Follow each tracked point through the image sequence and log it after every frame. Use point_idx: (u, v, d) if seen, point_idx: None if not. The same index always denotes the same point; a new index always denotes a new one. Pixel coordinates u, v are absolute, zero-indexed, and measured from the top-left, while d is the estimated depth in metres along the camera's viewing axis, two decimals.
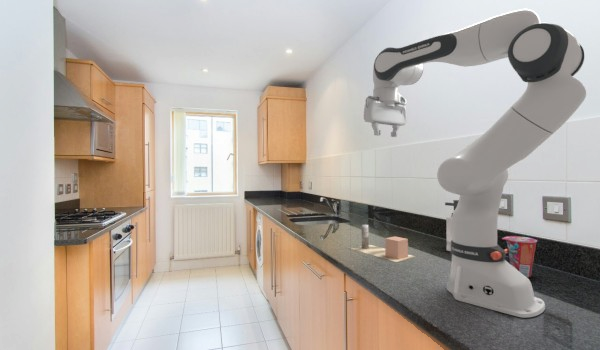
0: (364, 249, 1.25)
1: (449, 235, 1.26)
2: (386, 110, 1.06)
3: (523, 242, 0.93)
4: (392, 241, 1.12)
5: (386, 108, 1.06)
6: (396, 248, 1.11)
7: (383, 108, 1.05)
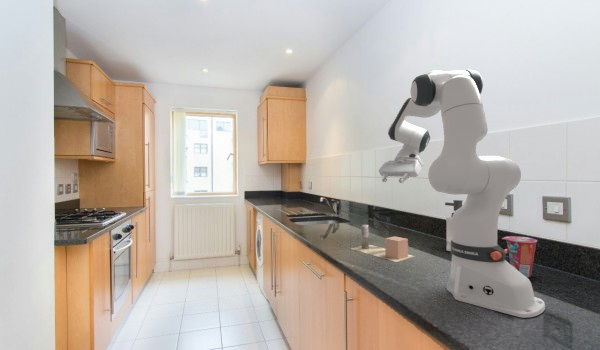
0: (364, 249, 1.25)
1: (449, 235, 1.26)
2: (396, 165, 1.38)
3: (523, 242, 0.93)
4: (392, 241, 1.12)
5: (397, 164, 1.38)
6: (396, 248, 1.11)
7: (394, 164, 1.39)
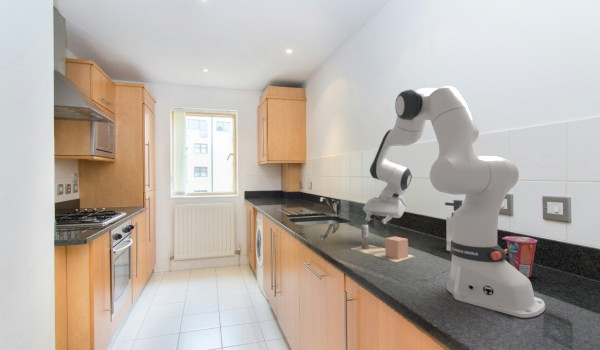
0: (364, 249, 1.25)
1: (449, 235, 1.26)
2: (380, 204, 1.36)
3: (523, 242, 0.93)
4: (392, 241, 1.12)
5: (380, 202, 1.36)
6: (396, 248, 1.11)
7: (378, 202, 1.37)
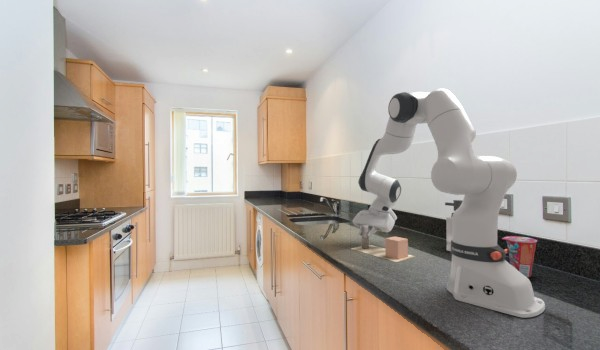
0: (364, 249, 1.25)
1: (449, 235, 1.26)
2: (369, 216, 1.32)
3: (523, 242, 0.93)
4: (392, 241, 1.12)
5: (370, 215, 1.32)
6: (396, 248, 1.11)
7: (367, 215, 1.33)
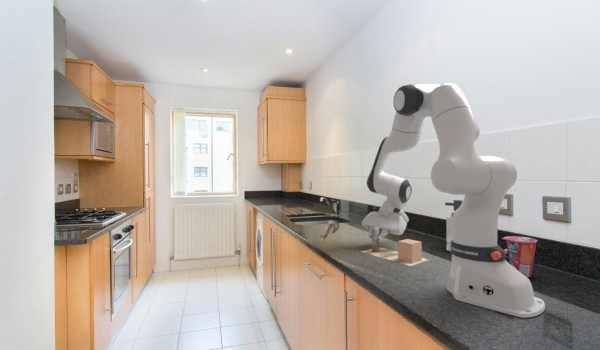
0: (375, 252, 1.20)
1: (449, 235, 1.26)
2: (380, 218, 1.27)
3: (523, 242, 0.93)
4: (405, 244, 1.07)
5: (380, 217, 1.27)
6: (410, 251, 1.06)
7: (378, 217, 1.28)
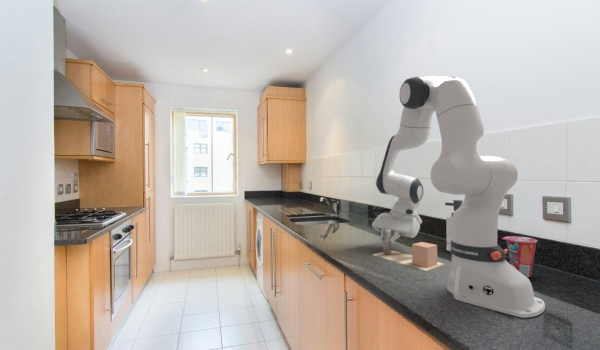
0: (387, 255, 1.15)
1: (449, 235, 1.26)
2: (391, 220, 1.22)
3: (523, 242, 0.93)
4: (420, 247, 1.02)
5: (392, 219, 1.22)
6: (425, 255, 1.01)
7: (389, 218, 1.23)
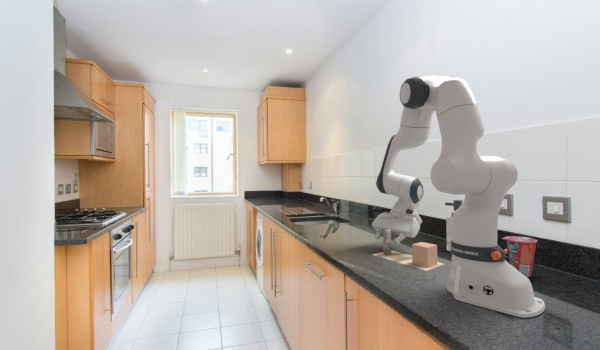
0: (387, 255, 1.15)
1: (449, 235, 1.26)
2: (391, 220, 1.22)
3: (523, 242, 0.93)
4: (420, 247, 1.02)
5: (392, 218, 1.22)
6: (425, 255, 1.01)
7: (389, 218, 1.23)
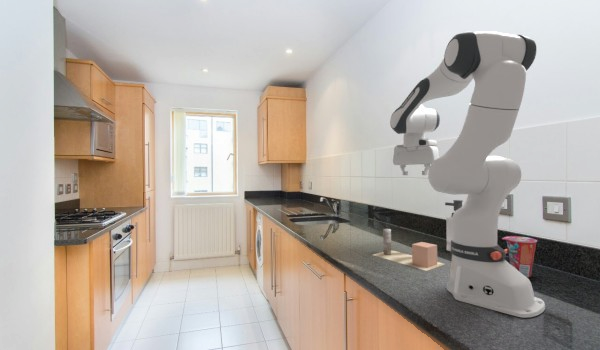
0: (387, 255, 1.15)
1: (449, 235, 1.26)
2: (409, 154, 1.25)
3: (523, 242, 0.93)
4: (420, 247, 1.02)
5: (409, 152, 1.25)
6: (425, 255, 1.01)
7: (406, 152, 1.27)
